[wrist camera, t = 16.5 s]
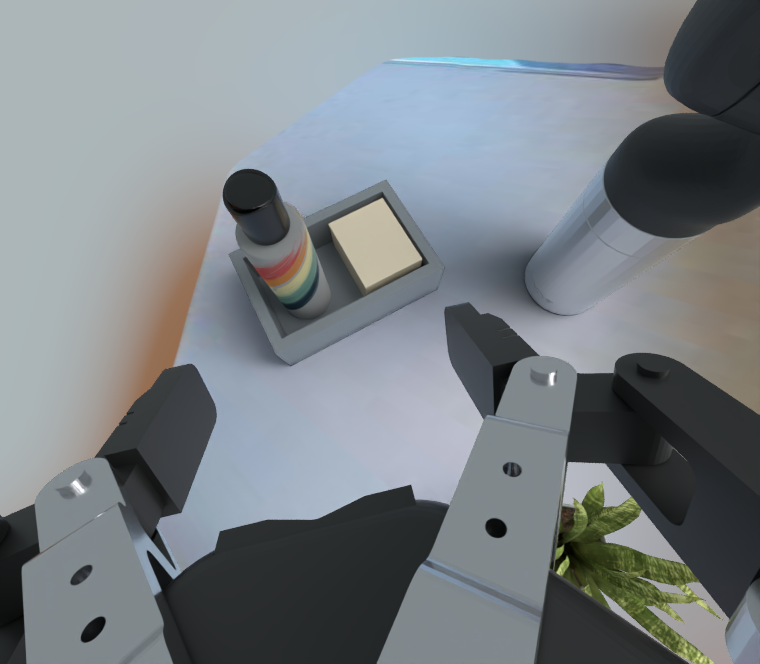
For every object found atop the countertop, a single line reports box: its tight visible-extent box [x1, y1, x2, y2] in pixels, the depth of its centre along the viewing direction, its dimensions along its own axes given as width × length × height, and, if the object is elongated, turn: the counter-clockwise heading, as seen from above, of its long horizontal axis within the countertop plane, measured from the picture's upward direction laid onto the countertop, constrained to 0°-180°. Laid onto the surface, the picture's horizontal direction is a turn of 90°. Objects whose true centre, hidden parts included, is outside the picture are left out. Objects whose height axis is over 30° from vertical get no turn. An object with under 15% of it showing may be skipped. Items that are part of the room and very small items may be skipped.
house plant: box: [554, 483, 720, 664], centre depth 29 cm, size 14×14×16 cm
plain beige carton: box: [329, 198, 422, 297], centre depth 43 cm, size 7×9×5 cm
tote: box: [229, 180, 444, 366], centre depth 43 cm, size 20×13×6 cm, turn 119°
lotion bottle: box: [223, 169, 331, 319], centre depth 34 cm, size 6×6×20 cm
